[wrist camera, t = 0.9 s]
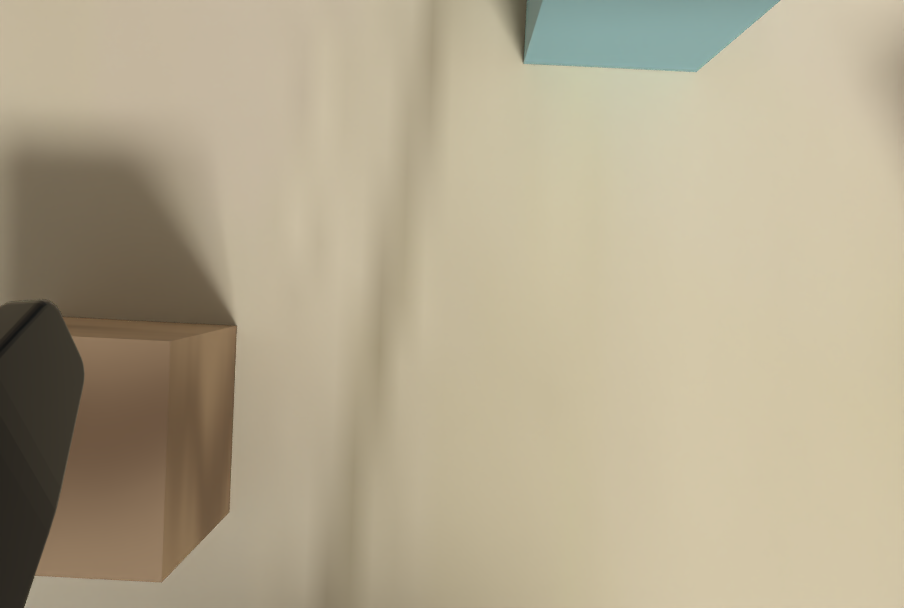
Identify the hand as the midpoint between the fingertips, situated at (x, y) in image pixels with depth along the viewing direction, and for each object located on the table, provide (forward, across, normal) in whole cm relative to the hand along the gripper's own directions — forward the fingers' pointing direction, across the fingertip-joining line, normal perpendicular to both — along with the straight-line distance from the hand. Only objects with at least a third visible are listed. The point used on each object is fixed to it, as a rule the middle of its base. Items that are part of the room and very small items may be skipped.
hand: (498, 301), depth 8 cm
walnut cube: (+9, +9, +10) cm, 16 cm away
